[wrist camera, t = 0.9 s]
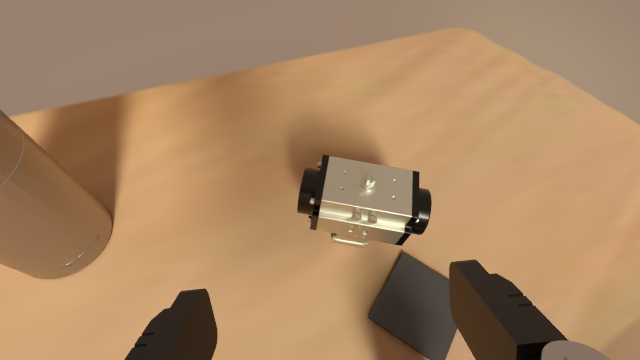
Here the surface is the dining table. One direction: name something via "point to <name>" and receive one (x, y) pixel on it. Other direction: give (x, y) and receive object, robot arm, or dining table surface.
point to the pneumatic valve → (364, 201)
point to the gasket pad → (416, 308)
